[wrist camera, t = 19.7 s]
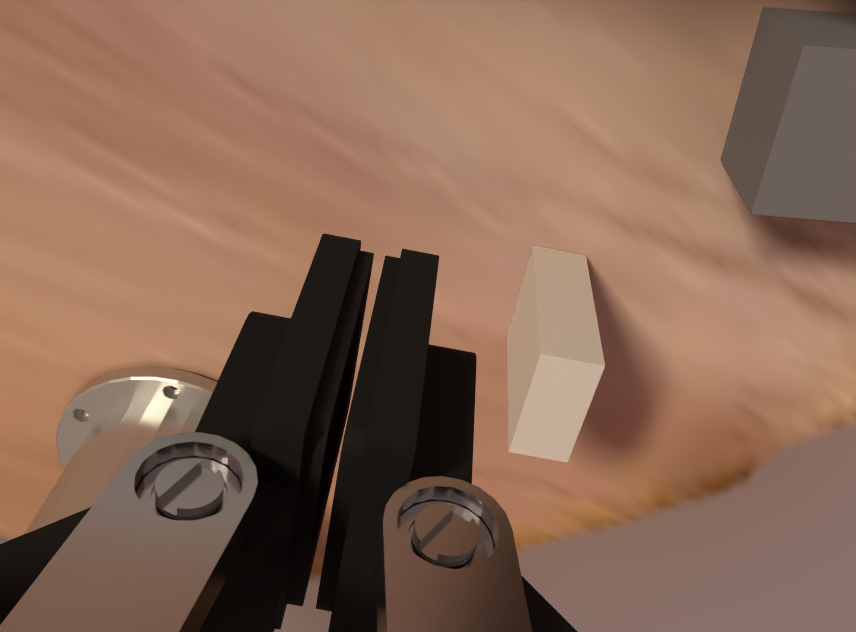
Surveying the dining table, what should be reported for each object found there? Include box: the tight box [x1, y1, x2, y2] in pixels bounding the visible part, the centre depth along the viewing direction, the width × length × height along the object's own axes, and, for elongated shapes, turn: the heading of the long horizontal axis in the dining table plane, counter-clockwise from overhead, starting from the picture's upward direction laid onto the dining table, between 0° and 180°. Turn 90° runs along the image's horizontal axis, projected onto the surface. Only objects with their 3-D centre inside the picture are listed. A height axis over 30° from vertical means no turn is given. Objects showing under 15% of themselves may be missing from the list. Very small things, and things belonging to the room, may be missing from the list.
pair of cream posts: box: [507, 245, 605, 463], centre depth 28 cm, size 27×3×8 cm, turn 170°
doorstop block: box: [721, 7, 856, 223], centre depth 29 cm, size 6×7×5 cm
